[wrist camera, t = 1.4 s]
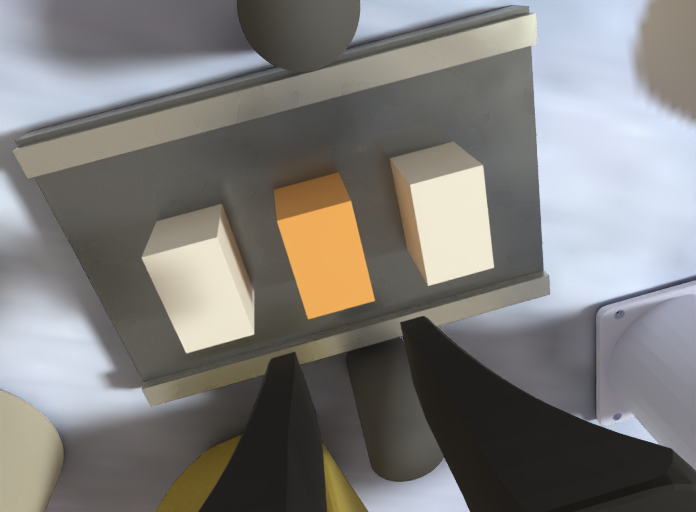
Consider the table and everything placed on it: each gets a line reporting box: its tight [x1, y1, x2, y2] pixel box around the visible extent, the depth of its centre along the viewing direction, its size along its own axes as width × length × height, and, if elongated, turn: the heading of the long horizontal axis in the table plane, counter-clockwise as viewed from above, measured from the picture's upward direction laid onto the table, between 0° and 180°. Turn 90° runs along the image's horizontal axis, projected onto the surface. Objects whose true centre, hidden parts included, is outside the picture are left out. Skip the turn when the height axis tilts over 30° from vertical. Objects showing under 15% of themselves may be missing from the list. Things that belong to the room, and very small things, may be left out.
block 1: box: [142, 204, 254, 353], centre depth 20 cm, size 2×4×3 cm, turn 13°
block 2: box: [274, 172, 375, 319], centre depth 20 cm, size 2×4×3 cm, turn 13°
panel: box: [12, 5, 550, 407], centre depth 21 cm, size 18×12×2 cm, turn 103°
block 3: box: [390, 142, 494, 286], centre depth 20 cm, size 2×4×3 cm, turn 13°
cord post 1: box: [237, 0, 360, 72], centre depth 16 cm, size 3×3×6 cm
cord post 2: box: [346, 337, 444, 482], centre depth 23 cm, size 3×3×6 cm
